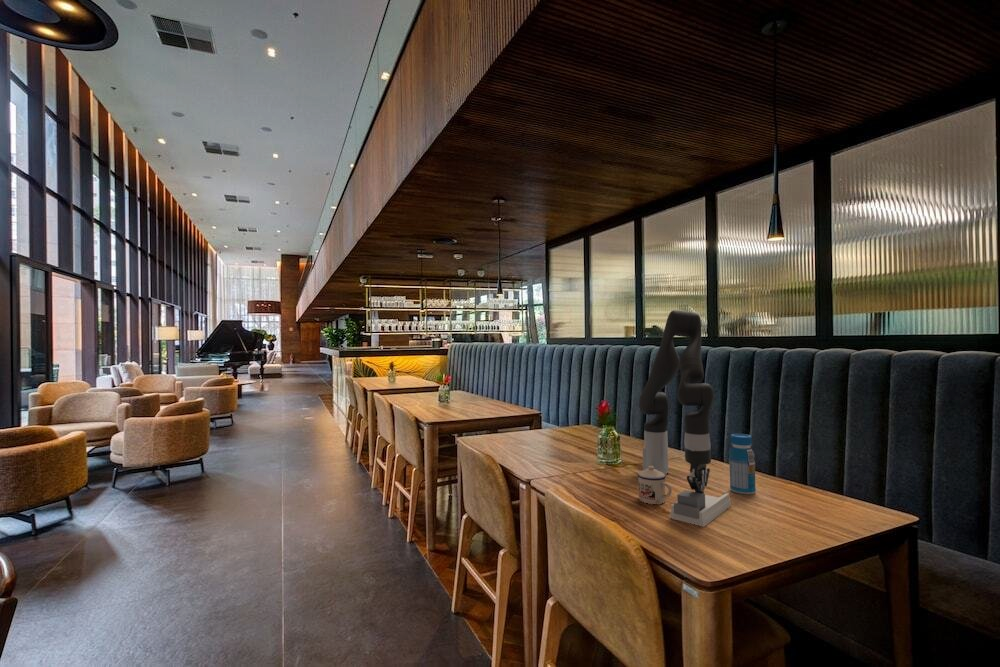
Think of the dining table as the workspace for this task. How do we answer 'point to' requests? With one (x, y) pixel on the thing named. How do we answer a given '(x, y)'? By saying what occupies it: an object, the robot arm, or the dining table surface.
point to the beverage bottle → (742, 464)
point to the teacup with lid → (652, 486)
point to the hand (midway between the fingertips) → (699, 501)
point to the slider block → (692, 499)
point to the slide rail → (706, 515)
